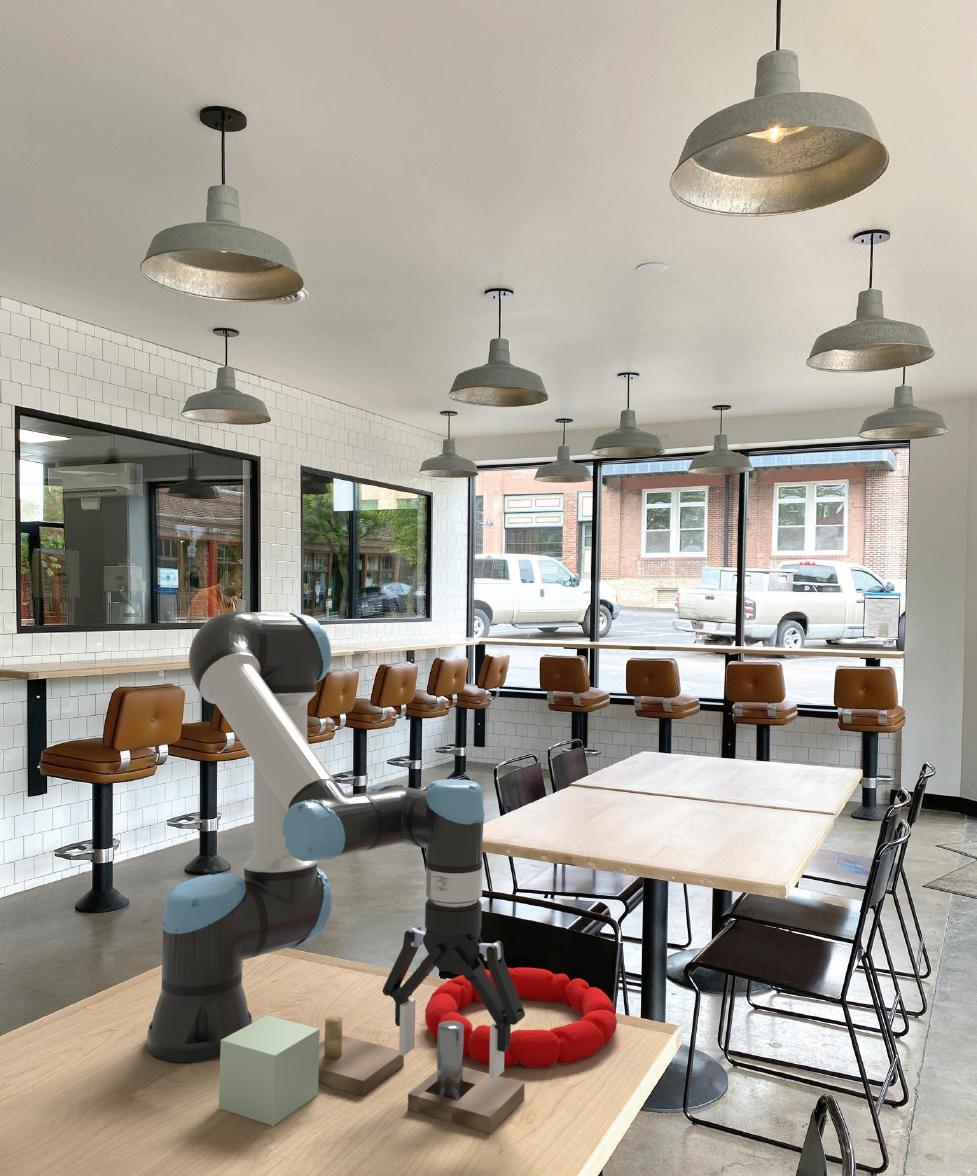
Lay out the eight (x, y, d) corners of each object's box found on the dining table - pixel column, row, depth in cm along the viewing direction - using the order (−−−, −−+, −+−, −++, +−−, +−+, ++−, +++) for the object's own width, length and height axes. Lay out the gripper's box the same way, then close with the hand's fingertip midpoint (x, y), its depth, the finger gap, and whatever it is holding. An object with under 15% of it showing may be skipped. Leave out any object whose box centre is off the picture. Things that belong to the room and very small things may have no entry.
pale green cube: (218, 1108, 119) (220, 1040, 120) (265, 1078, 127) (267, 1015, 128) (273, 1126, 115) (275, 1055, 116) (318, 1094, 123) (319, 1028, 124)
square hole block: (407, 1109, 120) (408, 1093, 120) (446, 1077, 129) (446, 1062, 129) (490, 1133, 114) (490, 1117, 114) (524, 1098, 123) (524, 1083, 123)
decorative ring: (609, 1051, 128) (622, 958, 157) (400, 1029, 134) (450, 943, 163) (609, 1102, 128) (622, 999, 157) (401, 1077, 134) (450, 983, 164)
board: (291, 1075, 129) (293, 1023, 129) (335, 1047, 137) (336, 999, 138) (363, 1096, 123) (364, 1042, 123) (403, 1065, 132) (404, 1015, 132)
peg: (431, 1105, 121) (432, 1027, 122) (447, 1094, 124) (448, 1018, 124) (452, 1113, 119) (453, 1033, 120) (467, 1102, 122) (468, 1024, 122)
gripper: (359, 892, 125) (356, 1052, 124) (526, 921, 114) (524, 1098, 113) (390, 879, 132) (387, 1031, 131) (551, 905, 121) (548, 1072, 119)
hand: (450, 1062), depth 122 cm, fingers open, 13 cm apart
